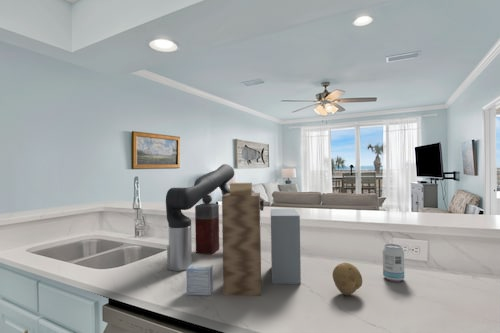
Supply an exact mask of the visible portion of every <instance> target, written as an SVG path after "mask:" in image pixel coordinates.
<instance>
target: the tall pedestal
mask: <svg viewBox="0 0 500 333" xmlns="http://www.w3.org/2000/svg"><path fill="white" fill-rule="evenodd" d="M260 201H261V193H260V192H252V196H230V193H226V194H223V195H222V196H221V211H222V212H221V221H222V222H221V223H222V277H223V278H222V284H223V285H222V288H223V290H222V292H223V294H222V295H223V296H259V297H260V296H261V291H262V257H261V256H262V254H261V253H262V249H261V248H262V247H261V245H262V244H261V242H262V241H261V226H260V221H261V210H260Z"/></svg>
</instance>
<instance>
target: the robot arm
mask: <svg viewBox="0 0 500 333" xmlns="http://www.w3.org/2000/svg"><path fill="white" fill-rule="evenodd" d="M234 176H235V170H234V168H233V167H232V166H231V165H230V164H226V163H225V164H224V163H223V164H222V165H220V166H219V167H218V168H216V169H215V170H212V171H209V172H208V173H206V174H203V175H202V176H199V177H198V178H196V179H195V181H194V184H193V186H191V187H170V188H169V189H168V190H167V191H166V194H165V195H166V196H165V211H166V213H165V214H166V220H167V223H168V245H167V246H166V259H167V260H166V262H167V264H166V266H167V268H166V270H170V271H175V272H176V271H177V272H178V271H179V272H181V271H186V269H187V268H188V267H189V266H190V265H193V263H192V262H193V261H192V260H193V258H192V255H193V254H192V219H191V218H190V217H189V216H187V215H186V214H184V213H183V212H182V211H187V210H191V209H192V208H193V207H194V206H196V205H197V204H198V203H199V201H201V200H202V198H204V197H205V196H206V195H210V194H212V193H213V192H214V191H215V190H217V189H218V188H219V189H220V191H221V192H222V193H223V195H225V194H226V193H230V186H228V185H227V183H228V182H230V181H231V180H232V179H233V178H234ZM264 204H265V202H264V200H260V212H261V211H264V206H265V205H264Z"/></svg>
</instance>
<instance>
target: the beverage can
mask: <svg viewBox="0 0 500 333" xmlns="http://www.w3.org/2000/svg"><path fill="white" fill-rule="evenodd" d="M382 276H383V277H384V278H386V280H387V281H389V282H390V281H391V282H396V283H399V282H401V281H403V280H404V279H405V251H404V249H403V246H401V245H400V244H395V243H386V244H384V247H383V248H382Z"/></svg>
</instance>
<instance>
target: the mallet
mask: <svg viewBox="0 0 500 333" xmlns="http://www.w3.org/2000/svg"><path fill="white" fill-rule="evenodd" d="M229 189H230V196H252V193H253V182H231V183H229Z"/></svg>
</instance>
